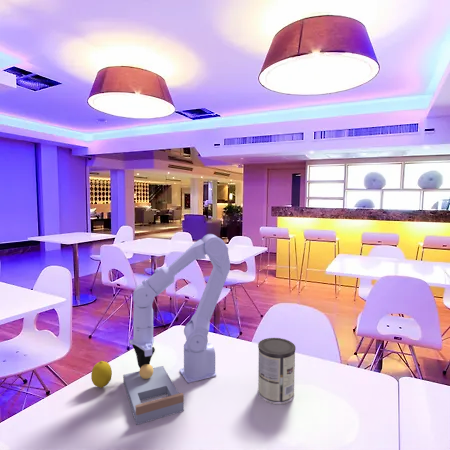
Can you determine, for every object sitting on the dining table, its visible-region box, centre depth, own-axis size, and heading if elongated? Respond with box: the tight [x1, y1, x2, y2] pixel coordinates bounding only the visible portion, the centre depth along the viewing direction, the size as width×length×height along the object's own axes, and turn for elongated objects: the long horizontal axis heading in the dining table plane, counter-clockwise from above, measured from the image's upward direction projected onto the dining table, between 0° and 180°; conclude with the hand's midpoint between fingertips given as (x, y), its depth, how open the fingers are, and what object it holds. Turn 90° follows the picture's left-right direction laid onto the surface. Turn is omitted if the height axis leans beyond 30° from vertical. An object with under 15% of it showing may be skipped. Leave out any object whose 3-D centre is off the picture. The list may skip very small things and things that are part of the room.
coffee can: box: [257, 337, 296, 405], centre depth 91 cm, size 10×10×14 cm
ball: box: [138, 364, 154, 379], centre depth 94 cm, size 4×4×4 cm
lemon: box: [90, 360, 113, 389], centre depth 93 cm, size 6×6×8 cm
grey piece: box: [122, 365, 185, 425], centre depth 89 cm, size 12×20×4 cm, turn 26°
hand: (143, 368), depth 97 cm, fingers open, 2 cm apart
